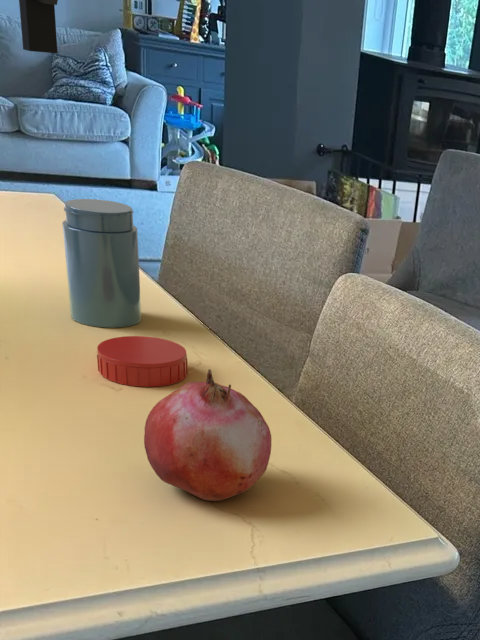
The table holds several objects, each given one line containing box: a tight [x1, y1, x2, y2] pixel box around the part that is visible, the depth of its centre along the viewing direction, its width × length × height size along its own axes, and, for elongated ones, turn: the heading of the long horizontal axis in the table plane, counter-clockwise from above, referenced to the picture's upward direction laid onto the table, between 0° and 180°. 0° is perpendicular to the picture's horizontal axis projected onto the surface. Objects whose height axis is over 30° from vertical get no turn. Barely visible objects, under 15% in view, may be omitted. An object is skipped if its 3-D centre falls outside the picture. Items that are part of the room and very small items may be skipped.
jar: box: [62, 198, 142, 329], centre depth 98 cm, size 8×8×12 cm
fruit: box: [143, 368, 272, 502], centre depth 67 cm, size 9×10×10 cm
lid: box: [96, 335, 189, 388], centre depth 88 cm, size 8×8×2 cm
